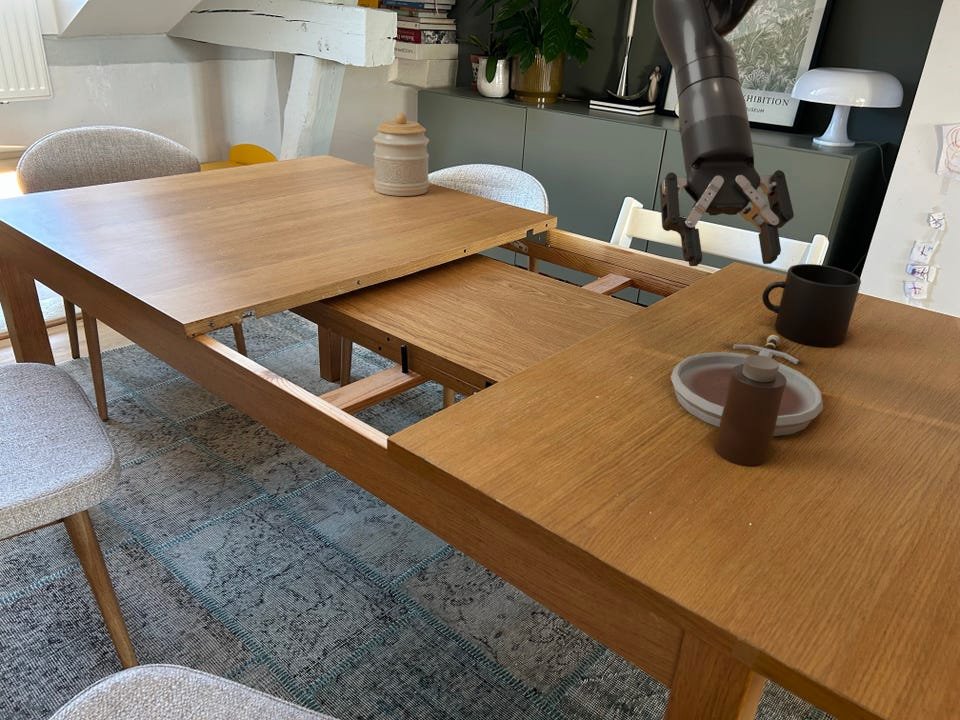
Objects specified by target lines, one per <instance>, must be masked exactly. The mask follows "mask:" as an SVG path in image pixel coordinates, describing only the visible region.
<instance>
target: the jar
mask: <svg viewBox="0 0 960 720" xmlns="http://www.w3.org/2000/svg"><path fill="white" fill-rule="evenodd" d="M376 131H377V134H376V135H374V136H373V138H372V141H373V142H374V143H375V147H374V151H373V153H372V155H373V171H374V172H373V175H374V176H373V187H374V190H375V192H378V193H379V194H383V195H387V196H396V197H397V196H398V197H413V196H419V195H423V194H426V193H427V192H428V190H429V186H430V184H429V182H430V180H429V158H430V154H429V152H428V145H429V143H430V139H429V138H428V137H427V136H426V135H425V133H426V131H427V129H426V127H424V126H422V125H421V124H420V122H416V121H409V120H408V116H407V114H406V113H404V112H398V113H397V114H396V115H395V119H394V120H386V121H383V122H382V123H381V124H380V125H378V126H377V127H376Z"/></svg>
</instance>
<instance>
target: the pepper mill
mask: <svg viewBox="0 0 960 720" xmlns="http://www.w3.org/2000/svg"><path fill="white" fill-rule="evenodd" d="M749 355H750V356H747V357H746V358H745V361H744V364H740V365H737V366H735V367H733V369H732V371H731V375H730V380H729V385H728V389H727V394H726V398H725V403H724V408H723V412H722V417H721V421H720V426H719V427H718V430H717V435H716V441H715V445H714V449H715V451H716V453H717V454H718V455H719V456H720V457H721V458H722V459H724V460H726V461H728V462H730V463H732V464H736V465H739V466H743V467H756V466H760V465H763V464H764V463H765V462H766V461H767V459H768V456H769V452H770V448H771V445H772V442H773V441H772V440H773V437H774V436H773V433H774V429H775V425H776V421H777V417H778V414H779V410H780V406H781V402H782V398H783V394H784V390H785V386H786V382H787V380H786V377H785V376H784V375H783V374H782V373H780V372H779V371H778V369H779V363H780V362H778V361H777V360H776V359H775V358H773V357H772V358H770V357H766V356H762V355H758V354H749Z"/></svg>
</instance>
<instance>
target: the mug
mask: <svg viewBox="0 0 960 720" xmlns="http://www.w3.org/2000/svg"><path fill="white" fill-rule="evenodd" d="M861 284H862V280H861V277H859V276H858V275H856V274H854V273H853V272H850V271H848V270H845V269H842V268H838V267H835V266H830V265H824V264H814V263H801V264H795V265H794V264H793V265H791V266H789V268H788V269H787V273H786V276H785V280H781V281H774V282H772V283H770V284H768V285H767V286H766V287H765V288H764V290H763V292H762V302H763V305H764V307H765V308H767V309H768V310H769V311H771V312H772V313H775V314H777V315H776V319H775V323H774V327H775V331H776V332H777V333H778V334H779V335H780V336H782V337H784V338H786V339H788V340H790V341H792V342H794V343H798V344H802V345H806V346H811V347H812V346H813V347H823V348H824V347H835V346H839V345H841V344H842V343H843V342H844V341H845V339H846V337H847V333H848V329H849V325H850V322H851V320H852V316H853V312H854V308H855V304H856V302H857V299H858V294H859V291H860V288H861V287H860V286H861ZM777 288H780V289H782V294H781V298H780V301H779V302H780V303H779V305H777V304H776V305H775V304H773V303H772V302H771V301H770V298H769V295H770V293H771V292H772V291H773V290H774V289H777Z"/></svg>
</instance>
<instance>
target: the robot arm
mask: <svg viewBox="0 0 960 720" xmlns="http://www.w3.org/2000/svg"><path fill="white" fill-rule="evenodd" d="M758 1H759V0H653V4H652V11H653V20H654V24H655V27H656V31H657V34H658V36H659V38H660V42H661V43H662V46H663V48H664V51H665V53H666V56H667V58H668V61H669V62H670V64H671V66H672V69H673V71H674V78H675V87H676V94H677V101H678V102H677V103H678V133H679V136H680V140H681V149H682V156H683V163H684V170H685V173H686V176H677V174H676V173H674V172H668V173H667V174H666V175H665V177H664V178H663V179H662V181H661V183H660V184H659V197H660V213H661V228H662V229H663V230H664V231H666V232H670V231H673V232H676V233H677V234H678V235H679V236H680V242H681V249H682V256H683V259H684V261H685V262H688V266H689V267H697V266H699V265H700V264H701V263H702V261H703V252H702V245H701V237H700V231H699V228H696V226H697V224H698V222H699V221H700V220H701V218H702V216H703V215H704V213H707V214H708V215H709V216H718V215H722V214H723V215H728V216H737V214H739V215H740V216H741V217H742V218H743V219H744V220H745V221H747V222H751V223H752V224H753V225H754V227H755V228H756V229H758V231H759V232H760V233H758V235H757V236H758V240H759V248H760V254H761V259H762V264H763V265H771V264H773V263H774V262H775V261H776V260H777V259H778V256H780V255H781V253H782V247H781V241H780V240H781V239H780V234H779V229H780V228H783V227H784V226H785V225H786V224H787V223H788V222H789V221H791V220H792V219H794V217H795V213H794V210H793V209H794V208H793V205H792V200H791V196H790V192H789V191H790V190H789V188H788V183H787V178H786V174H785V172H784V171H783V170H780V169H777V170H775V171H774V172H773V173H772V174H761V175H760V174H759V173H758V172H757V170H756V167H755V153H754V147H753V141H752V133H751V128H750V120H749V114H748V108H747V104H746V99H745V96H744V93H743V90H742V86H741V80H740V79H741V78H740V74H739V67H738V60H737V56H736V52H735V50H734V48H733V46H732V44H731V43H730V42H729V41H727V39H725V38H726V37H727V36H728V35H730V34H731V33H732V32H734V30H735V29H736V28H737V27H738V26H739V25H740V23H741V22H742V21H743V20H744V18H745V17H746V16H747V15H748V13H749V12H750V11H751V9H752V8H753V7H754V6H755V5H756V4H757V2H758ZM758 188H760V189H761V190H762V194H763V195H764V196H766V197H767V200H766V199H765V198H764V197H763V196H762V195H761V194H760V192H758ZM683 189H684V191H685V193H687V195H688V196H689V197H690V198H691V199H692V200H693V201H694V203H693V204H692V206H691V208H690V210H689V211H688V213H687V214H686V216H685V217H684V216H681V215H680V200H679V196H680V195H681V193H683ZM749 204H751V205H752V207H751V206H750V205H749Z"/></svg>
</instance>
